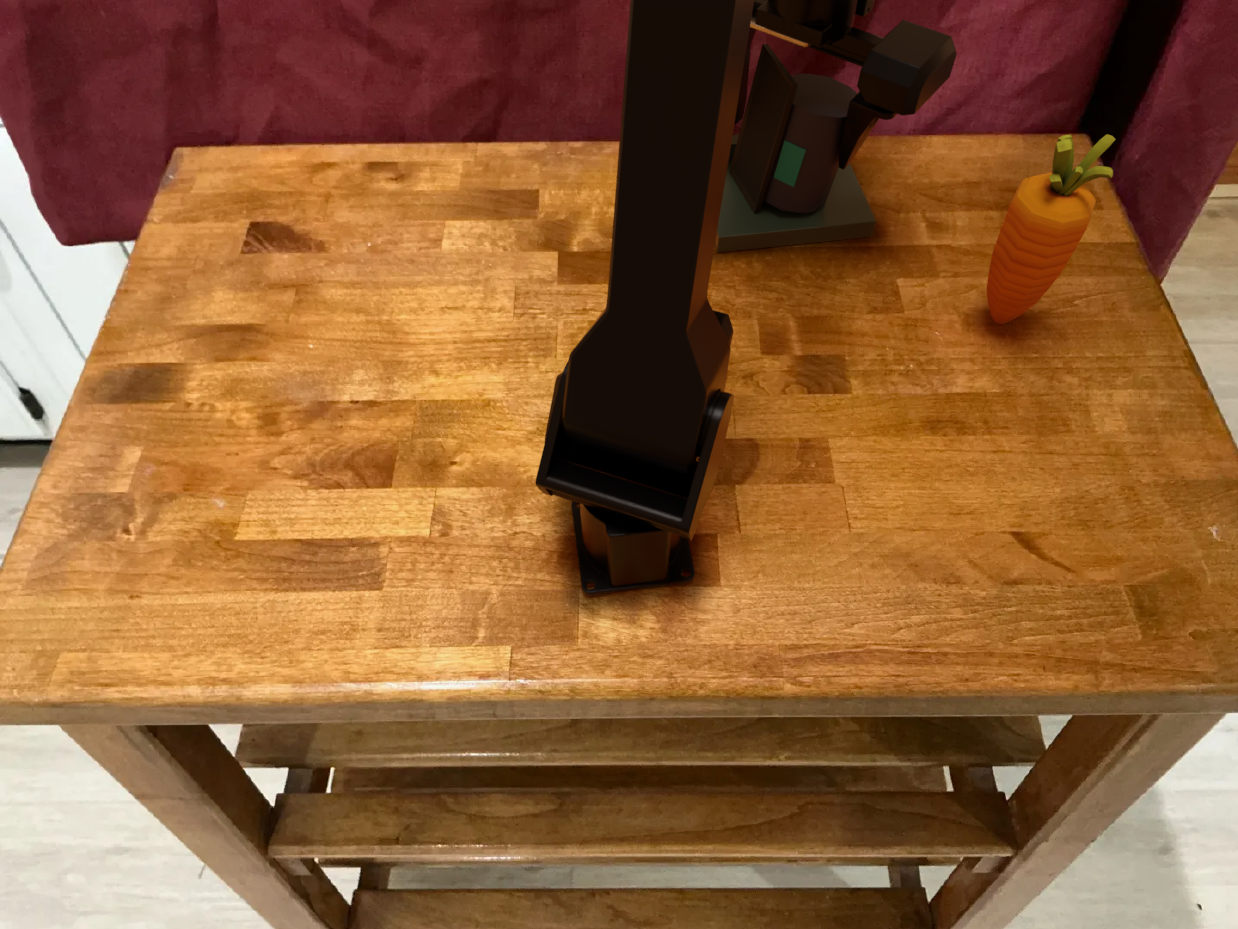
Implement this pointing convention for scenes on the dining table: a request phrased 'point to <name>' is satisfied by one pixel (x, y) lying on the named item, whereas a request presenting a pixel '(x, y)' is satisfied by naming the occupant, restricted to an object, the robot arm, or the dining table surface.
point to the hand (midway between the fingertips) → (789, 142)
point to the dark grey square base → (793, 217)
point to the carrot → (1042, 230)
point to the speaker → (789, 137)
